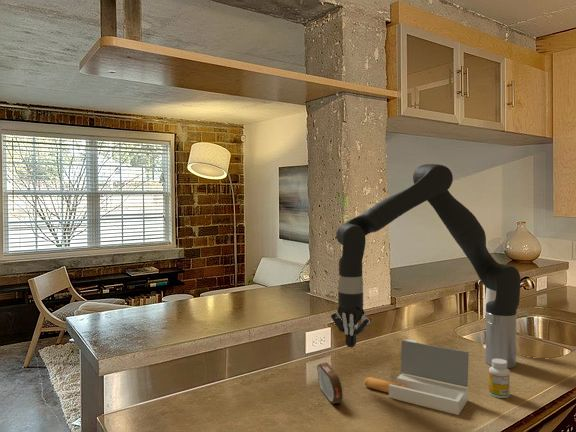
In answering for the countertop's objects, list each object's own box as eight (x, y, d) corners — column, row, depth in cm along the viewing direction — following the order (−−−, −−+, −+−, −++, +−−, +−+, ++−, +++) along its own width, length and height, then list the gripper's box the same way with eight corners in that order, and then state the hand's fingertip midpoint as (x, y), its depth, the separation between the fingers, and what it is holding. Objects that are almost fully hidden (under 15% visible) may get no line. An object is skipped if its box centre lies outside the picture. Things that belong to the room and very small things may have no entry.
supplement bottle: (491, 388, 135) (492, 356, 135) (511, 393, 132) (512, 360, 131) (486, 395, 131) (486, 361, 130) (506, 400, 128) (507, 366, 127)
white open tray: (401, 384, 139) (401, 373, 139) (467, 400, 128) (467, 387, 128) (388, 397, 131) (388, 385, 130) (458, 415, 120) (458, 401, 120)
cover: (400, 372, 138) (401, 371, 139) (467, 387, 127) (468, 386, 128) (401, 340, 138) (402, 340, 139) (468, 352, 127) (468, 351, 128)
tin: (343, 408, 125) (343, 377, 124) (332, 409, 124) (332, 378, 124) (325, 385, 140) (325, 358, 139) (315, 386, 139) (315, 359, 138)
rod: (367, 384, 140) (366, 374, 140) (408, 394, 133) (408, 384, 132) (362, 388, 137) (362, 378, 137) (405, 398, 130) (405, 388, 130)
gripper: (376, 290, 139) (376, 347, 140) (337, 285, 146) (337, 339, 147) (365, 295, 133) (365, 354, 134) (325, 289, 140) (325, 346, 141)
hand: (350, 346), depth 140 cm, fingers closed
